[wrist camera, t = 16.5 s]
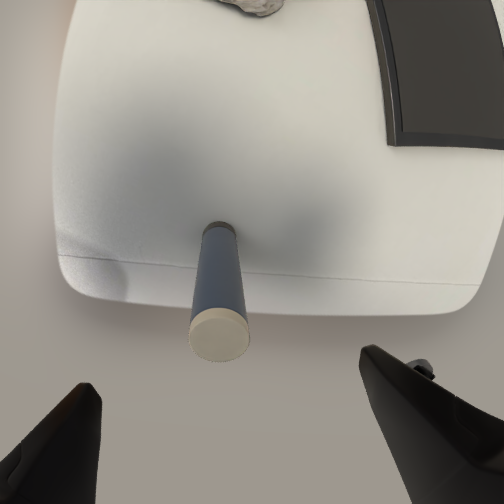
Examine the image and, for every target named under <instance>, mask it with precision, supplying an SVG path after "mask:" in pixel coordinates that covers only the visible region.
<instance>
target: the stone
mask: <svg viewBox="0 0 504 504" xmlns="http://www.w3.org/2000/svg"><path fill="white" fill-rule="evenodd" d="M219 1H222V2H225V3H231V4H236V5H238V6H239V7H240V8H241V9H243V10H244V11H245V12H253V13H255V14H256V15H258V16H264V15H269V14H272V13H273V12H275V11H277V10H278V9H280V8H281V7H282V6H283V3H284V1H285V0H219Z"/></svg>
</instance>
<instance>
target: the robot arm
mask: <svg viewBox="0 0 504 504" xmlns="http://www.w3.org/2000/svg"><path fill="white" fill-rule="evenodd" d="M359 370H360V373H361V376H362V380H363V383H364V386H365V389H366V392H367V395H368V398H369V402H370V404H371V408H372V410H373V412H374V415H375V417H376V419H377V421H378V424H379V426H380V428H381V431H382V433H383V435H384V437H385V440H386V442H387V444H388V447H389V449H390V451H391V453H392V456H393V458H394V460H395V463H396V465H397V468H398V470H399V472H400V475H401V477H402V480H403V482H404V484H405V487H406V489H407V492H408V494H409V497H410V499H411V502H412V504H504V421H503V420H501V419H498V418H496V417H494V416H492V415H490V414H487V413H486V412H483V411H482V410H480V409H478V408H475V407H474V406H472V405H470V404H469V403H467V402H465V401H464V400H462V399H460V398H459V397H457V396H456V397H455V395H454V394H452V393H451V392H449V391H447V390H446V389H444V388H443V387H441V386H439V385H438V384H436V383H435V382H433V381H432V380H433V379H434V378H435V375H434V374H433V373H431V372H430V371H428V370H426V369H425V368H423V367H422V366H420V365H417V366H415V367H414V368H413V369H412V368H411V367H409V366H408V365H406V364H404V363H403V362H401V361H400V360H398V359H397V358H395V357H393V356H392V355H390V354H389V353H387V352H386V351H384V350H383V349H381V348H379V347H378V346H376V345H373V344H372V345H368V346H365V347H363V348H362V349H361V354H360V360H359ZM101 418H102V399H101V397H100V396H99V394H98V393H97V391H96V390H95V389H94V387H93V386H92V385H91V384H90V383H79V384H78V385H77V386H76V387H75V388H74V389H73V390H72V391H71V392H70V393H69V394H68V395H67V396H66V397H65V398H64V399H63V400H62V401H61V402H60V403H59V404H58V405H57V406H56V407H55V408H54V409H53V410H52V411H51V412H50V413H49V414H48V415H47V416H46V417H45V418H44V419H43V420H42V421H41V422H40V423H39V424H38V425H37V426H36V427H35V428H34V429H33V430H32V431H31V432H30V433H29V434H28V435H27V436H26V437H25V438H24V439H23V440H22V441H21V443H19V444H18V445H17V446H16V447H15V448H14V449H13V450H12V452H10V453H9V454H8V455H7V456H6V457H5V458H4V459H3V460H2V461H1V462H0V504H95V497H96V482H97V470H98V460H99V450H100V441H101Z"/></svg>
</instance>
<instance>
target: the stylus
mask: <svg viewBox="0 0 504 504" xmlns="http://www.w3.org/2000/svg"><path fill="white" fill-rule="evenodd" d="M188 340H189V344H190V347H191V348H192V350H193V351H194V352H195V354H197V355H198V356H199V357H201V358H203V359H205V360H208V361H212V362H226V361H231V360H234V359H236V358H238V357H240V356H241V355H242V354H243V353H244V352H245V351H246V350H247V348H248V346H249V343H250V335H249V328H248V321H247V313H246V306H245V299H244V292H243V284H242V277H241V269H240V262H239V254H238V246H237V239H236V233H235V230H234V229H233V228H232V226H230V225H229V224H227V223H225V222H214V223H211V224H210V225H208V226H207V227H206V228H205V230H204V232H203V235H202V242H201V248H200V255H199V261H198V268H197V275H196V282H195V289H194V297H193V304H192V313H191V320H190V329H189V339H188Z"/></svg>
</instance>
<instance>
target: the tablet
mask: <svg viewBox="0 0 504 504" xmlns="http://www.w3.org/2000/svg"><path fill="white" fill-rule="evenodd" d="M367 4H368V8H369V13H370V17H371V21H372V26H373V31H374V36H375V41H376V46H377V52H378V58H379V64H380V70H381V77H382V85H383V93H384V102H385V113H386V125H387V140H388V145H390V146H395V147H397V146H437V147H466V148H483V149H496V150H504V47H503V42H502V38H501V34H500V30H499V26H498V22H497V18H496V15H495V12H494V8H493V5H492V2H491V0H367Z"/></svg>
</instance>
